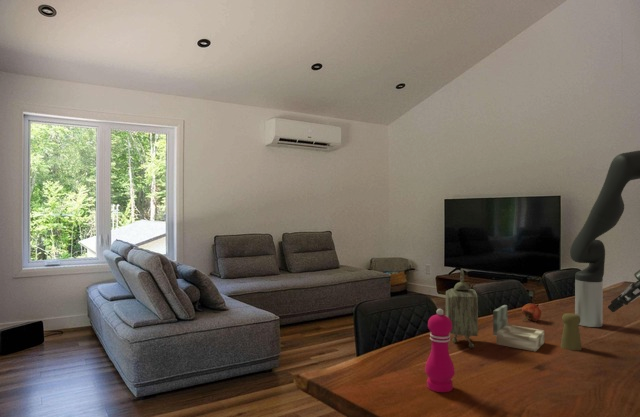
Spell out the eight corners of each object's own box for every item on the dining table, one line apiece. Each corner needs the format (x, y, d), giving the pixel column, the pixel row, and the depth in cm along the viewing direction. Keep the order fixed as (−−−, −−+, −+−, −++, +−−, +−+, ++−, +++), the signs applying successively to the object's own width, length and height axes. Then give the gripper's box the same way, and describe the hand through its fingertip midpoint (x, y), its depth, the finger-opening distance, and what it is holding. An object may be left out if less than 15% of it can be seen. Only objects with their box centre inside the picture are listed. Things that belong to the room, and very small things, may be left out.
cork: (584, 351, 143) (584, 316, 143) (564, 349, 144) (564, 315, 144) (577, 345, 149) (578, 312, 149) (558, 344, 150) (558, 311, 150)
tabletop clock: (477, 350, 143) (478, 272, 143) (448, 348, 145) (448, 271, 145) (471, 337, 157) (472, 266, 157) (445, 336, 159) (445, 265, 159)
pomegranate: (533, 329, 177) (551, 313, 178) (521, 314, 177) (539, 298, 178) (522, 326, 184) (539, 310, 185) (511, 312, 184) (528, 296, 186)
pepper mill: (421, 382, 117) (421, 305, 117) (448, 381, 118) (448, 305, 117) (430, 393, 110) (430, 312, 110) (459, 392, 110) (459, 311, 110)
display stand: (503, 335, 160) (503, 304, 160) (544, 342, 152) (544, 310, 152) (493, 343, 150) (493, 310, 150) (535, 351, 142) (535, 316, 142)
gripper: (648, 262, 140) (604, 294, 147) (645, 266, 129) (598, 301, 136) (669, 280, 136) (623, 312, 144) (669, 287, 125) (619, 321, 132)
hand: (611, 307), depth 140 cm, fingers open, 8 cm apart
